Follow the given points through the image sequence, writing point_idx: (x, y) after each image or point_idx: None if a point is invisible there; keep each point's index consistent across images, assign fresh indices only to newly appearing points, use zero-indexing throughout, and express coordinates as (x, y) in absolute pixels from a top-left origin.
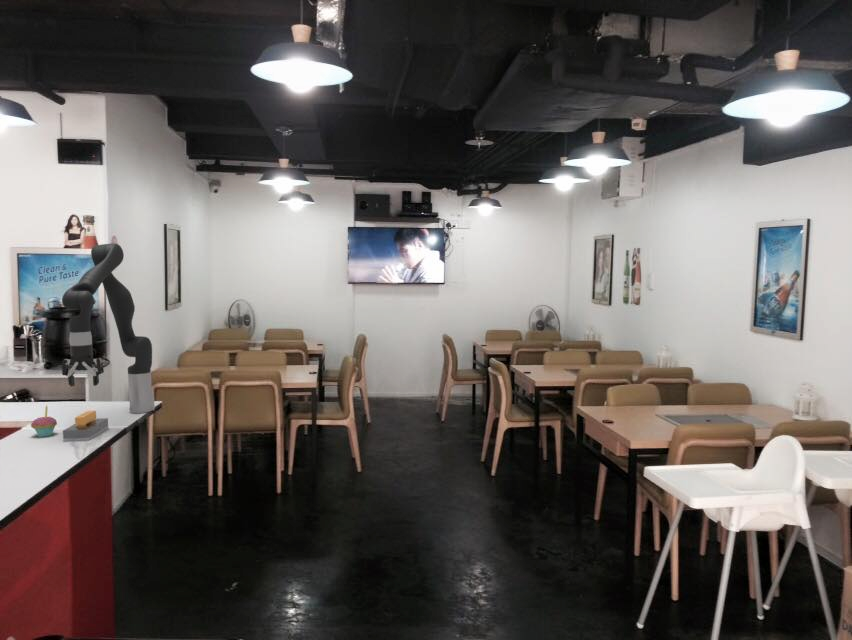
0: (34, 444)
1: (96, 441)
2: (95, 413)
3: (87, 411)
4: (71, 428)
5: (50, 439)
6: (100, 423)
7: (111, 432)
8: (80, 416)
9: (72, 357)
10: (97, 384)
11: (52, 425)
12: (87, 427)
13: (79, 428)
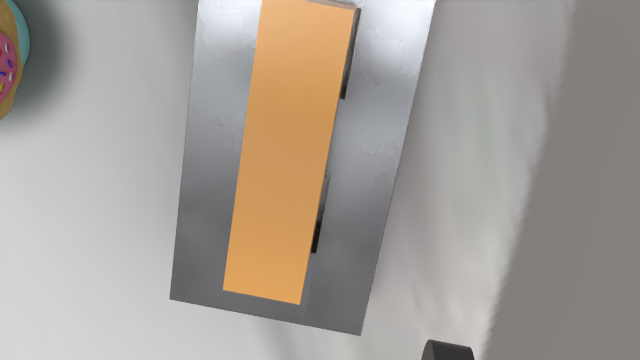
0: (30, 279)
1: (420, 329)
2: (352, 22)
3: (266, 29)
4: (214, 250)
5: (80, 179)
6: (411, 104)
7: (489, 98)
8: (262, 259)
9: None
10: (466, 352)
11: (10, 101)
12: (337, 256)
13: None
